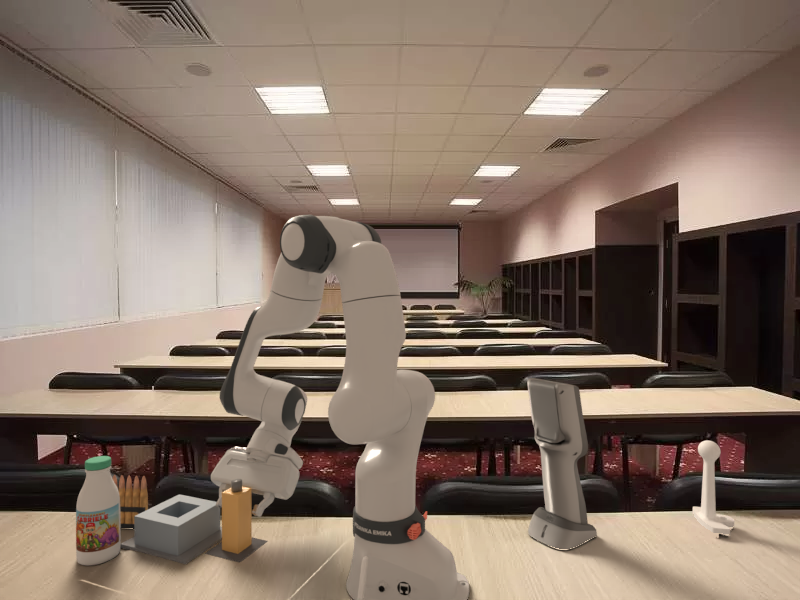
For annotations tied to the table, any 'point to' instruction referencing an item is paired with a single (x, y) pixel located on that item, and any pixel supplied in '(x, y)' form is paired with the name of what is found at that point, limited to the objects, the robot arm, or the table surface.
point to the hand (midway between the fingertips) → (237, 511)
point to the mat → (236, 557)
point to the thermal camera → (559, 464)
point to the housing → (177, 529)
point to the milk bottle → (98, 514)
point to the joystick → (710, 492)
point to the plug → (236, 517)
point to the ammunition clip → (131, 500)
